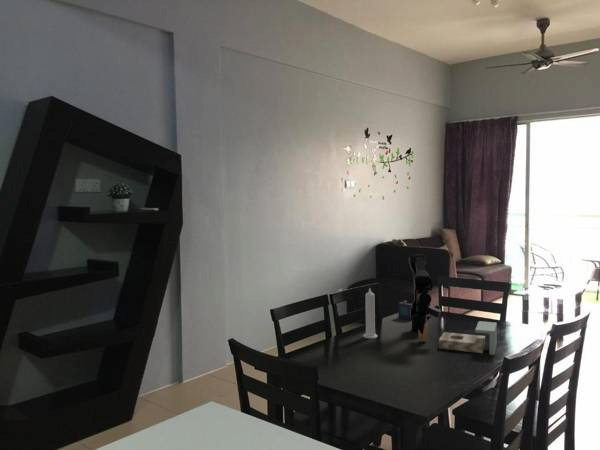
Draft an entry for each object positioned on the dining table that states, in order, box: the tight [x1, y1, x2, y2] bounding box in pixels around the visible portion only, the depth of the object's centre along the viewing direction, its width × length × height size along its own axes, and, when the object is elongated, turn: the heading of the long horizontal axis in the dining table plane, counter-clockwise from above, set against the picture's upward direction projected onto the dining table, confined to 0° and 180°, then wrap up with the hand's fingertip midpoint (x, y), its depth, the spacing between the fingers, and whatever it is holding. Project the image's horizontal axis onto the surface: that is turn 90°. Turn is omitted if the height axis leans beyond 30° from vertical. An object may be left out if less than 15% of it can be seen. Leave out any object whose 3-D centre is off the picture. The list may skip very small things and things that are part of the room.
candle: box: [363, 287, 378, 340], centre depth 251 cm, size 7×7×25 cm
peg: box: [418, 321, 428, 341], centre depth 241 cm, size 4×4×10 cm
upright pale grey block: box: [474, 320, 498, 356], centre depth 228 cm, size 8×16×11 cm, turn 155°
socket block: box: [438, 331, 486, 354], centre depth 233 cm, size 19×14×4 cm
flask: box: [398, 300, 412, 321], centre depth 286 cm, size 9×3×11 cm, turn 44°
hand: (422, 332), depth 241 cm, fingers closed on peg, 4 cm apart
